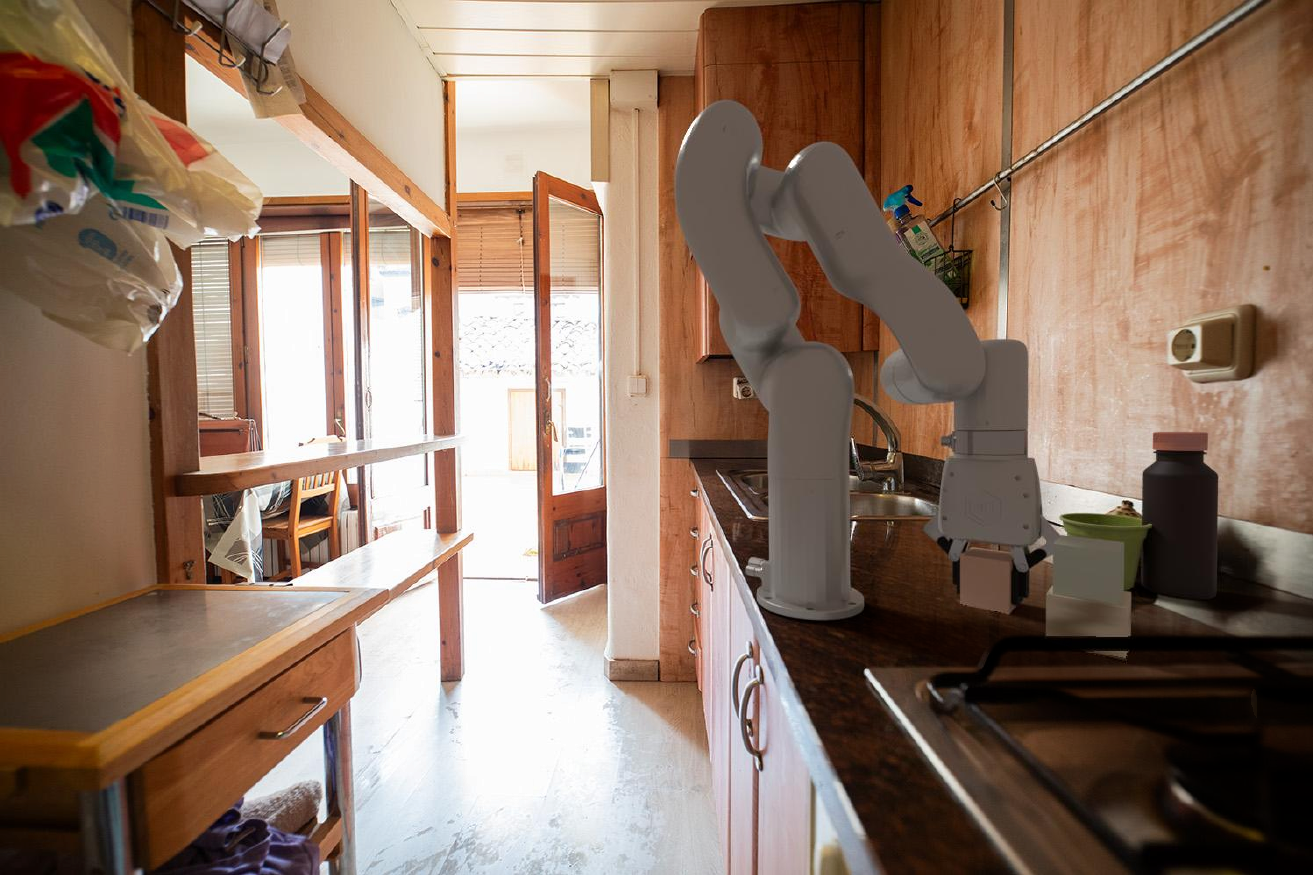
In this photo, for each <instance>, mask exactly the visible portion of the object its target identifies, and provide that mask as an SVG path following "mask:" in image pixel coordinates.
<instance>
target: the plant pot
mask: <svg viewBox="0 0 1313 875" xmlns="http://www.w3.org/2000/svg"><path fill="white" fill-rule="evenodd" d="M1058 517H1059V520H1060V521H1061V522H1062V524H1063V529H1064V531H1065V532H1066V536H1074V537H1083V538H1092V539H1101V540H1110V541H1119V542H1124V591H1129V590H1130V589H1133V588H1135V582H1136V578H1137V573H1138V568H1139V563H1140V557H1141V553H1142V544H1143V540H1144V539H1145V538H1146V536H1147V532H1148V528H1151V527H1152V524H1148V525H1145V526H1142V518H1138V517H1134V516H1127V515H1119V514H1109V513H1094V512H1093V513H1092V512H1072V513H1063V514H1060V515H1059V516H1058Z"/></svg>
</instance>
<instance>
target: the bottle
mask: <svg viewBox="0 0 1313 875" xmlns="http://www.w3.org/2000/svg"><path fill="white" fill-rule="evenodd" d="M1208 439H1209V433H1208V432H1204V431H1203V432H1202V431H1156V432H1153V433H1152V450H1154V451H1152V453H1153V454H1155V461H1154V462H1153V463H1152V464H1149V466H1148V467H1146V468H1145V469H1144V470H1143V471H1142V473H1141V474H1142V482H1141V486H1142V487H1141V489H1142V490H1141V493H1142V494H1141V519H1142V526H1145V525H1148V524H1152V527H1151V528H1148V532H1147V536H1146V538H1145V539H1144V540H1143V544H1142V549H1141V554H1140V557H1141V562H1140V563H1141V566H1140V569H1141V570H1140V571H1141V572H1140V573H1141V574H1140V583H1141V585H1142V587H1143V588H1144V589H1145V590H1147V591H1149V592H1152V593H1155V594H1158V595H1162V596H1167V597H1171V598H1178V599H1185V600H1186V599H1187V600H1195V601H1196V600H1197V601H1199V600H1200V601H1201V600H1202V601H1203V600H1204V601H1205V600H1206V601H1207V600H1211V599H1214V598H1215V597H1216V595H1217V579H1218V578H1217V577H1218V574H1217V572H1218V530H1219V529H1218V526H1219V525H1218V524H1219V523H1218V522H1219V521H1218V520H1219V519H1218V515H1219V474H1218V473H1217V472H1216V470H1214V469H1213V468H1211V466H1209V465H1208V464H1207V463H1205V462H1204V461H1205V457H1204V456H1205V455H1207V454H1208V452H1206V451H1208V450H1209V447H1208V446H1209V440H1208Z"/></svg>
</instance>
